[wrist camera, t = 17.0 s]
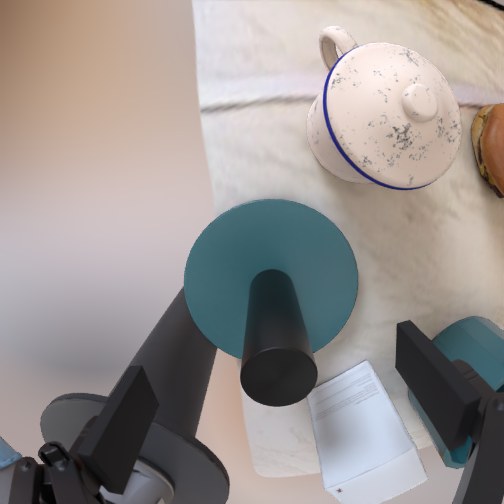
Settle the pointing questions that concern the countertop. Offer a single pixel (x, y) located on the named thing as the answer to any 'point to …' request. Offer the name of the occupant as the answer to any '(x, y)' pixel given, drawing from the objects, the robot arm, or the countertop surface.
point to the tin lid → (272, 293)
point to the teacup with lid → (382, 115)
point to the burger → (490, 145)
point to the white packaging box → (362, 439)
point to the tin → (479, 358)
